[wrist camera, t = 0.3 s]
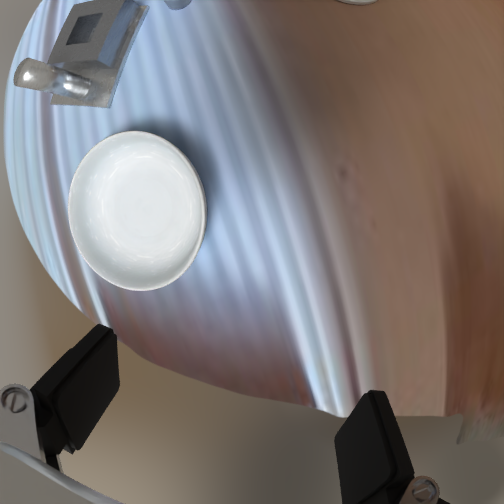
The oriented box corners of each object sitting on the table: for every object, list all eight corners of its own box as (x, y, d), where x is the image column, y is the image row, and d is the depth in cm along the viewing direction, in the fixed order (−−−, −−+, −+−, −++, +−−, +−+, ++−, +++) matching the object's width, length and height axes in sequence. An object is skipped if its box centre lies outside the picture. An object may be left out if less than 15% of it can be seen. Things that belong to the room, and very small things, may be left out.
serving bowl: (79, 232, 41) (53, 242, 35) (126, 115, 35) (101, 108, 29) (178, 298, 43) (163, 319, 36) (245, 177, 37) (238, 179, 30)
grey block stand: (88, 14, 29) (41, -14, 15) (149, 8, 30) (106, -36, 15) (53, 104, 35) (-7, 96, 21) (109, 108, 35) (45, 91, 21)
